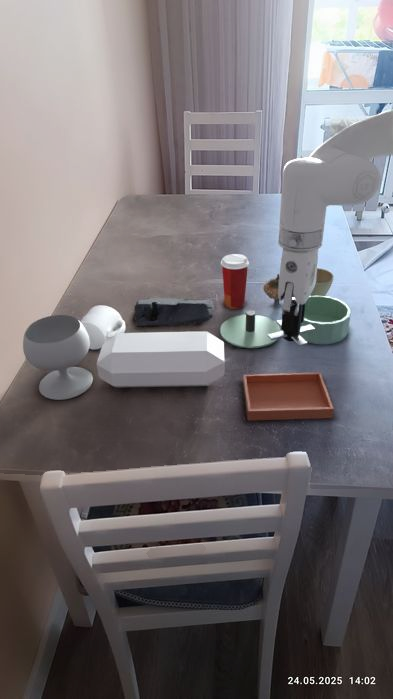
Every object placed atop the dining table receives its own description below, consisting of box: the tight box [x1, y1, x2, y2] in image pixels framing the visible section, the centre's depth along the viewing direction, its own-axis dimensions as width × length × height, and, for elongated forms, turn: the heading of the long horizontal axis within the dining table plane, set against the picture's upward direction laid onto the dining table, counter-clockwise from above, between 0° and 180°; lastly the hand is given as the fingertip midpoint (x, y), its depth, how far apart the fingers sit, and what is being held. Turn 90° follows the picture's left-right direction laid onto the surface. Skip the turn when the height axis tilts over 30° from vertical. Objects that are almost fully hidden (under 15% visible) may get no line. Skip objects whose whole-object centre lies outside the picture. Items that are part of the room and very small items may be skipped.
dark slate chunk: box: [134, 297, 215, 327], centre depth 134 cm, size 15×22×5 cm
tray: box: [242, 372, 335, 421], centre depth 103 cm, size 17×12×2 cm
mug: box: [80, 304, 126, 350], centre depth 123 cm, size 12×9×8 cm
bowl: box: [300, 295, 352, 345], centre depth 124 cm, size 15×15×6 cm
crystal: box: [96, 330, 226, 388], centre depth 109 cm, size 14×10×28 cm
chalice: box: [22, 314, 94, 401], centre depth 107 cm, size 14×14×15 cm
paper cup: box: [220, 253, 250, 310], centre depth 135 cm, size 8×8×14 cm
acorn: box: [262, 273, 281, 307], centre depth 134 cm, size 8×8×10 cm
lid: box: [219, 310, 282, 349], centre depth 124 cm, size 16×16×6 cm
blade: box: [268, 303, 315, 347], centre depth 93 cm, size 10×10×8 cm
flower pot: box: [310, 267, 335, 296], centre depth 138 cm, size 10×10×7 cm
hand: (292, 325), depth 94 cm, fingers closed on blade, 3 cm apart
